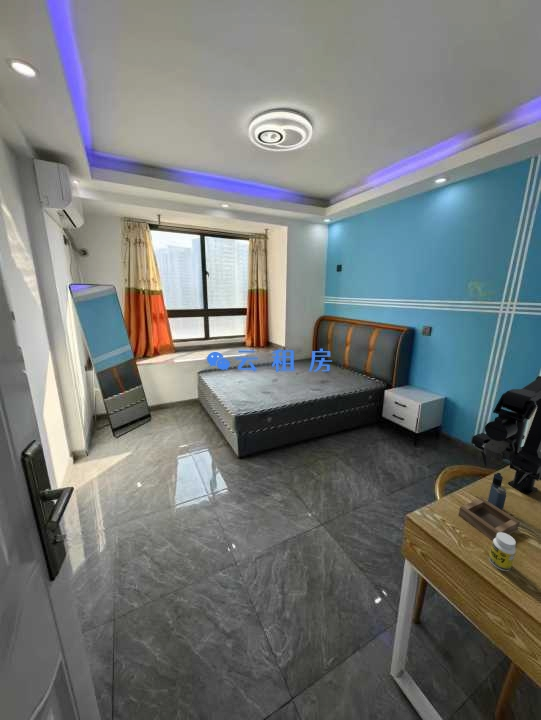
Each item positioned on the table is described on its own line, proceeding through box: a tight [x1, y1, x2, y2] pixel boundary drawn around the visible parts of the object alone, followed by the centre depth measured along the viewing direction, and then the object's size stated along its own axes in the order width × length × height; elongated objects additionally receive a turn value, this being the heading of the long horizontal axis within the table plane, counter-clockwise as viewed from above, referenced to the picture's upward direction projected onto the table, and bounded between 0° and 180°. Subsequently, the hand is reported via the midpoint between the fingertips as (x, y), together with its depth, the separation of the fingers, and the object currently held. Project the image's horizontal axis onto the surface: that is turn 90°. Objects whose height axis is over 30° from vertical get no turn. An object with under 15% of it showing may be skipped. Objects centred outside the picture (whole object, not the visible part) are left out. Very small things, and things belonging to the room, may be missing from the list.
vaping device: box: [487, 472, 507, 511], centre depth 95 cm, size 3×5×12 cm, turn 174°
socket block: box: [458, 497, 520, 541], centre depth 90 cm, size 11×11×3 cm
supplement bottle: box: [488, 532, 517, 572], centre depth 77 cm, size 5×5×8 cm
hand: (501, 474), depth 94 cm, fingers open, 9 cm apart
